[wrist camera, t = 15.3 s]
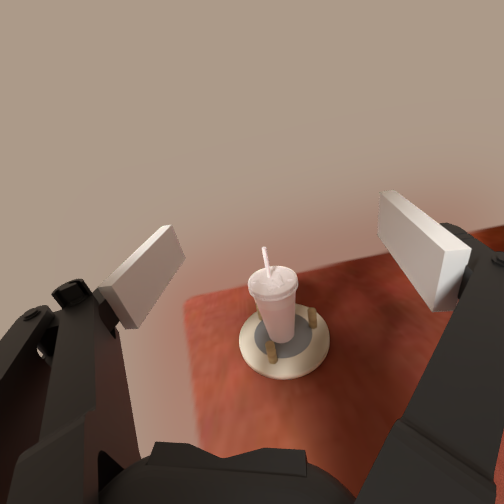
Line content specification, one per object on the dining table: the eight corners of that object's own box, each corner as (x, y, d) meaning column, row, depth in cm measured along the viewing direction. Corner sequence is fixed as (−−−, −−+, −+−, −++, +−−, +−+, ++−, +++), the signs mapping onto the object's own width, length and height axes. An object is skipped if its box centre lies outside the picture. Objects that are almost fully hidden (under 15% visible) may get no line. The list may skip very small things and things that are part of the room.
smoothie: (283, 310, 39) (270, 232, 32) (313, 333, 34) (306, 246, 27) (251, 332, 36) (230, 252, 29) (279, 360, 31) (261, 271, 24)
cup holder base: (334, 312, 38) (333, 293, 36) (322, 391, 28) (321, 370, 26) (258, 303, 43) (254, 285, 41) (225, 366, 33) (218, 346, 31)
